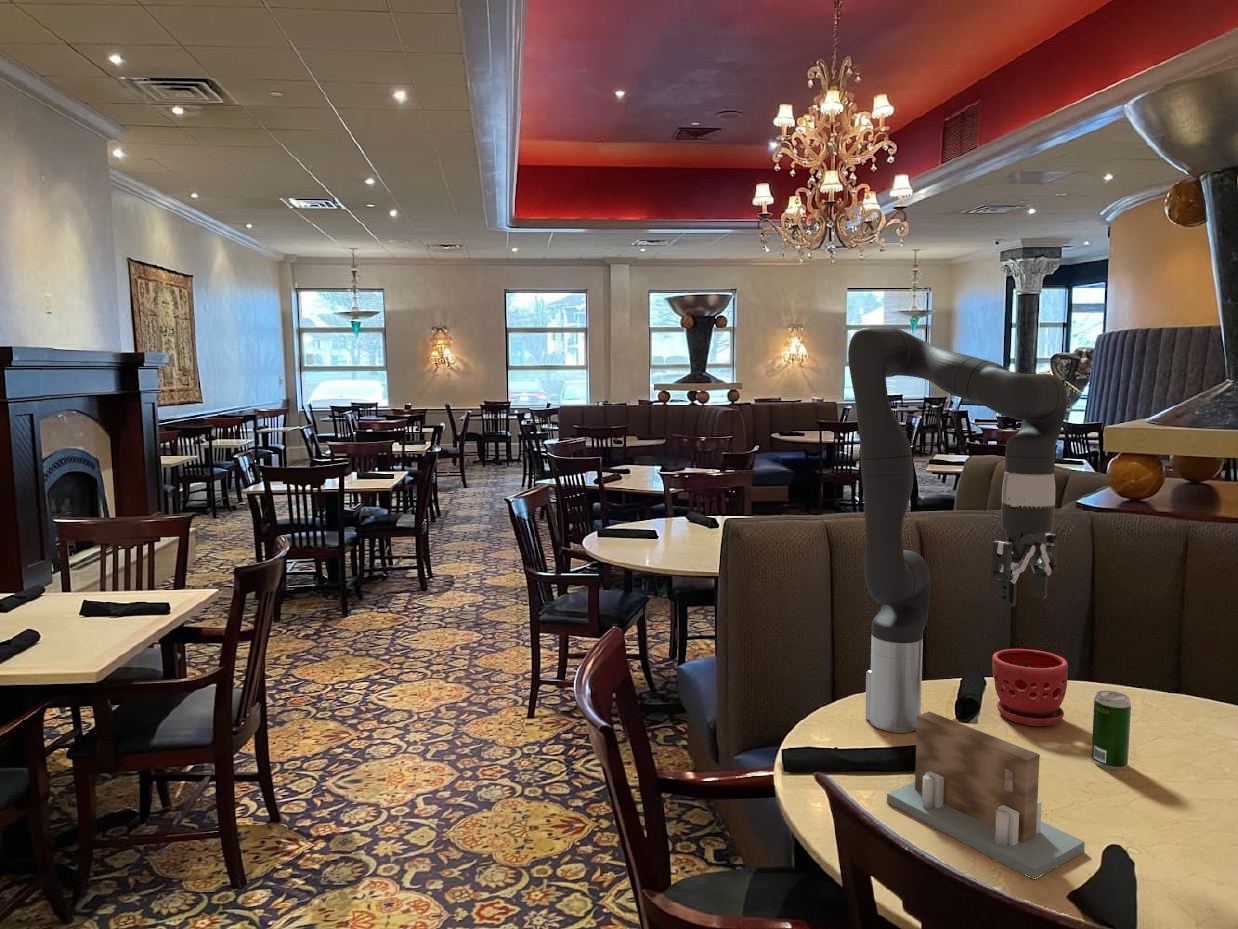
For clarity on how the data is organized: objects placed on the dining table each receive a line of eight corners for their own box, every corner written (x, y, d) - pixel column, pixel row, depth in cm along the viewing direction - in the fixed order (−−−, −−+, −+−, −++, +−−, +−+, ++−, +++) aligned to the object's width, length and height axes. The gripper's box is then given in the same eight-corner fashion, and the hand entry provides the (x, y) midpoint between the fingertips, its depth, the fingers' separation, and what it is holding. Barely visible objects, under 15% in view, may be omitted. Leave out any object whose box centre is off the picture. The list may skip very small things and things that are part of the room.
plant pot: (1058, 708, 165) (1061, 650, 163) (1071, 735, 152) (1074, 672, 151) (987, 700, 169) (989, 643, 168) (994, 726, 156) (996, 664, 155)
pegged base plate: (886, 802, 129) (887, 765, 128) (936, 782, 135) (937, 746, 134) (1034, 880, 108) (1036, 836, 108) (1084, 851, 115) (1086, 810, 114)
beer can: (1117, 774, 137) (1121, 704, 136) (1084, 762, 142) (1088, 694, 140) (1133, 765, 140) (1137, 697, 139) (1100, 753, 145) (1104, 687, 143)
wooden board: (914, 789, 130) (916, 715, 128) (927, 784, 131) (929, 711, 130) (1023, 843, 114) (1026, 760, 113) (1036, 836, 116) (1040, 754, 115)
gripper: (1031, 494, 137) (1027, 590, 139) (978, 502, 130) (975, 603, 131) (1076, 500, 131) (1071, 600, 133) (1024, 508, 123) (1019, 614, 125)
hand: (1023, 601), depth 132 cm, fingers open, 8 cm apart
